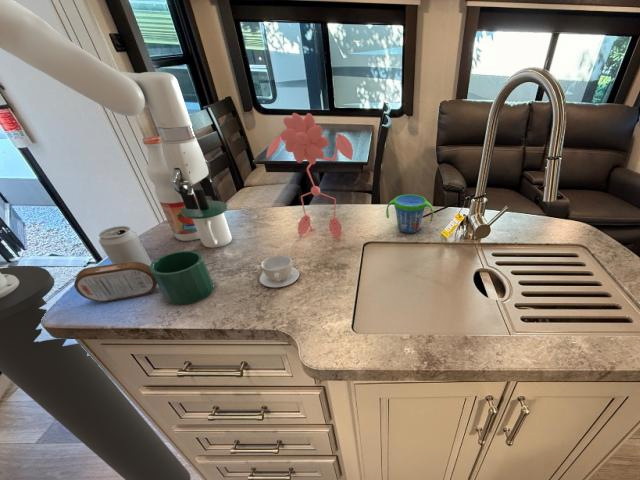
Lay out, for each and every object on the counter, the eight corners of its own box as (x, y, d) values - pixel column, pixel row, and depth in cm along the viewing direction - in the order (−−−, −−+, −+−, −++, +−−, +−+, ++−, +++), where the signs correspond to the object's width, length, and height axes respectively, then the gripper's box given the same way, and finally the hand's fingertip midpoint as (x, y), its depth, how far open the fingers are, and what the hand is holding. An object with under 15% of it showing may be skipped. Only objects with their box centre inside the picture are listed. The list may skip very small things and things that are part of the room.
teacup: (261, 269, 87) (257, 254, 84) (299, 265, 89) (296, 250, 86) (258, 291, 79) (253, 275, 76) (299, 286, 81) (296, 270, 78)
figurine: (289, 226, 108) (265, 106, 86) (363, 234, 105) (357, 112, 83) (266, 247, 96) (232, 114, 75) (349, 257, 93) (338, 121, 71)
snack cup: (382, 232, 106) (382, 202, 100) (391, 219, 114) (391, 191, 108) (428, 239, 104) (431, 208, 97) (434, 225, 112) (437, 197, 105)
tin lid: (217, 221, 86) (208, 197, 82) (174, 220, 86) (163, 195, 82) (235, 205, 95) (228, 182, 91) (196, 203, 95) (187, 181, 91)
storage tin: (201, 305, 74) (187, 275, 69) (156, 304, 74) (138, 273, 69) (221, 280, 82) (210, 251, 77) (180, 279, 82) (167, 249, 77)
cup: (232, 233, 103) (222, 203, 96) (232, 251, 94) (221, 218, 88) (203, 237, 100) (191, 206, 94) (201, 256, 91) (187, 223, 85)
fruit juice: (189, 226, 106) (151, 133, 88) (215, 230, 104) (181, 135, 87) (168, 239, 98) (121, 140, 81) (195, 243, 97) (154, 143, 80)
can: (156, 275, 83) (133, 233, 76) (121, 284, 80) (93, 241, 72) (153, 262, 88) (132, 221, 80) (120, 270, 84) (95, 228, 77)
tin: (164, 286, 80) (149, 256, 74) (162, 293, 77) (146, 263, 72) (90, 299, 75) (68, 269, 69) (86, 307, 72) (62, 276, 67)
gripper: (181, 126, 85) (204, 190, 96) (138, 141, 71) (170, 214, 82) (209, 127, 85) (229, 191, 96) (172, 142, 71) (199, 215, 82)
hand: (202, 202), depth 89 cm, fingers open, 9 cm apart
